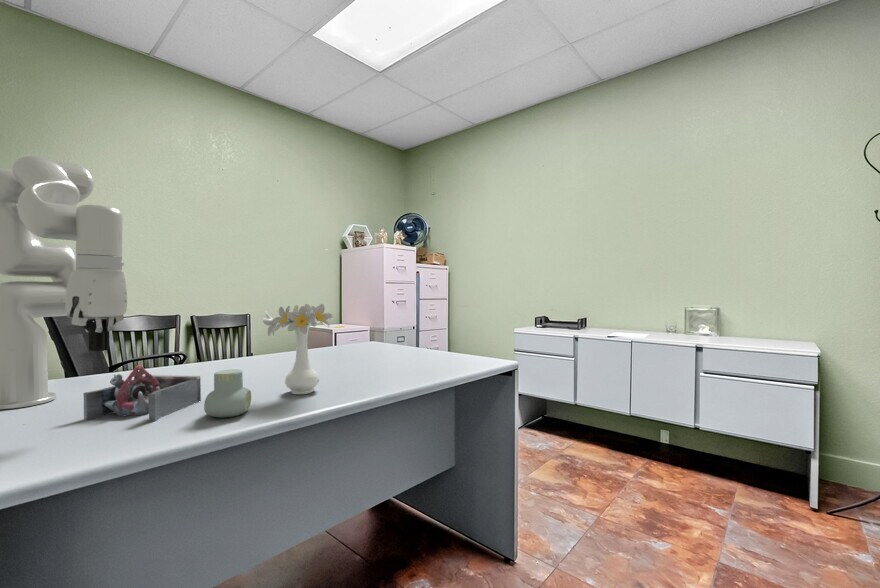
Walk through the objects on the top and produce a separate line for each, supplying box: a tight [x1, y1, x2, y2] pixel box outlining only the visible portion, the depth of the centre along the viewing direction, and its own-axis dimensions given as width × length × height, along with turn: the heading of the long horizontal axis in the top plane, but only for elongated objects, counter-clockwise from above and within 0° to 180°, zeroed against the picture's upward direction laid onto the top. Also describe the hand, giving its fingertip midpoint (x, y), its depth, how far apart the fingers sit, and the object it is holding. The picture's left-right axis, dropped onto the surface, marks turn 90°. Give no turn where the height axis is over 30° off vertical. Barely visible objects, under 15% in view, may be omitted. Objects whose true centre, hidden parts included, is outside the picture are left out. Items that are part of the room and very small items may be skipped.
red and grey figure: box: [104, 364, 160, 417], centre depth 96 cm, size 11×11×12 cm
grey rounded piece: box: [203, 368, 252, 419], centre depth 93 cm, size 11×8×10 cm
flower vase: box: [262, 303, 334, 396], centre depth 112 cm, size 13×18×25 cm
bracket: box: [83, 374, 202, 422], centre depth 97 cm, size 17×16×7 cm
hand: (99, 350), depth 86 cm, fingers closed
